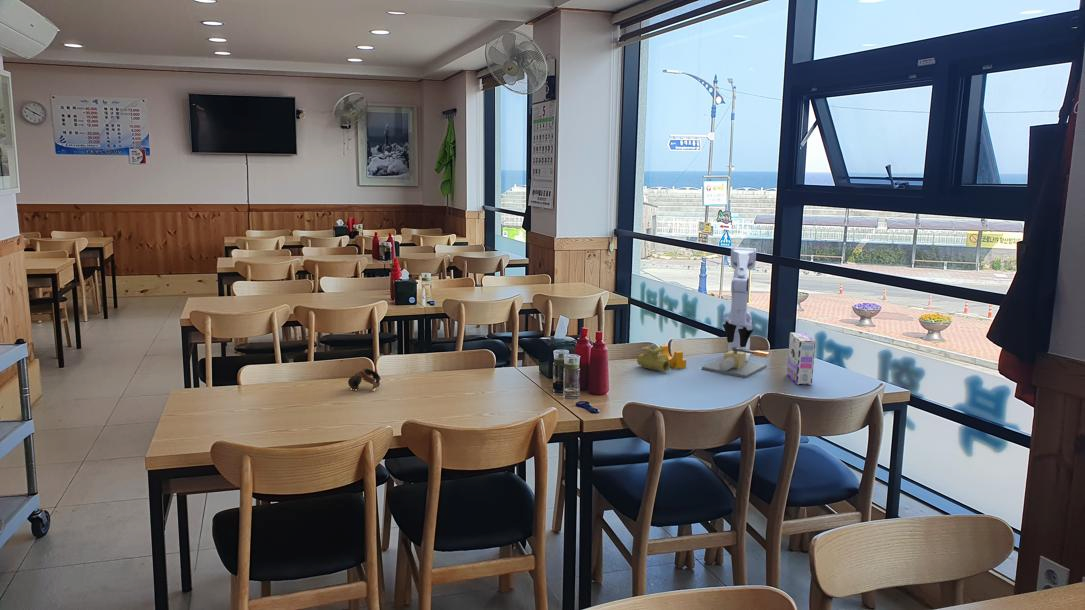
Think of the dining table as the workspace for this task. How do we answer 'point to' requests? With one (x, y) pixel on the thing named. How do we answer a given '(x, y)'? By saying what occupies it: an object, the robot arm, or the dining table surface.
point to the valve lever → (752, 352)
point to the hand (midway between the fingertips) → (736, 344)
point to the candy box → (801, 358)
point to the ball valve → (653, 358)
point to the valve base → (735, 365)
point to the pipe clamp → (674, 358)
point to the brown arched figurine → (364, 378)
